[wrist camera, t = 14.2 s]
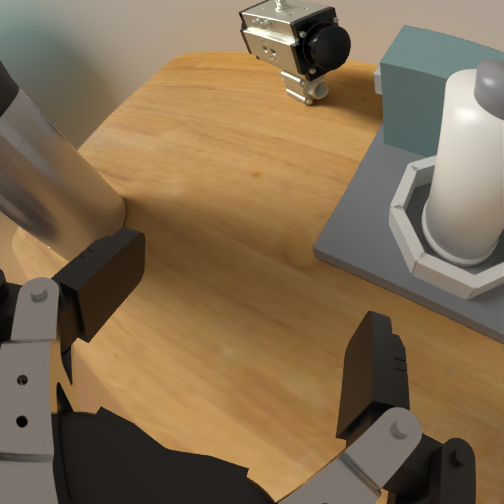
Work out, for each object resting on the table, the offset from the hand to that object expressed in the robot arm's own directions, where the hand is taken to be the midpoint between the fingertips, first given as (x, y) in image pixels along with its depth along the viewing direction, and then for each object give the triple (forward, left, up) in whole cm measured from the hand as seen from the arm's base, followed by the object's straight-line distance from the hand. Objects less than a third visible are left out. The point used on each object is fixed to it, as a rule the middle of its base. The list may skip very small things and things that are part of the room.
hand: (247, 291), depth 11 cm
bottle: (+6, +12, -10) cm, 17 cm away
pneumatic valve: (-13, +23, -12) cm, 29 cm away
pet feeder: (+6, +16, -11) cm, 20 cm away
